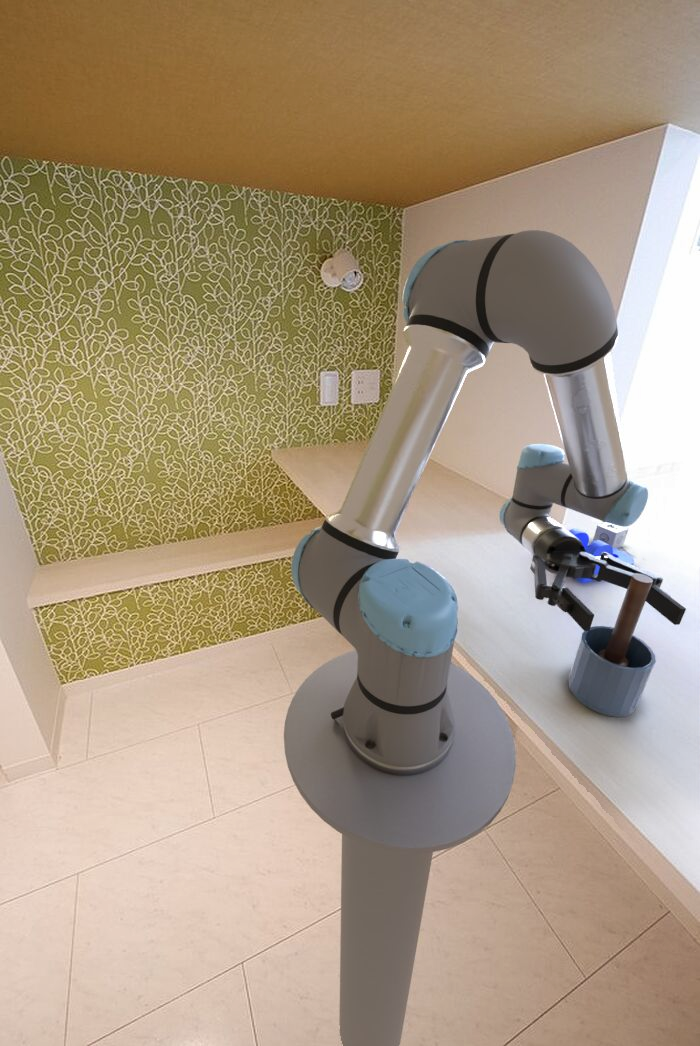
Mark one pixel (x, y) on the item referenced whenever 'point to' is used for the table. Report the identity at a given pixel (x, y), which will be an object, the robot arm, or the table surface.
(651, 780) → the table surface
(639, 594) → the muddler
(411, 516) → the table surface
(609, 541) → the dice cube
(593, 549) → the bracket
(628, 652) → the blue faceted pencil cup
